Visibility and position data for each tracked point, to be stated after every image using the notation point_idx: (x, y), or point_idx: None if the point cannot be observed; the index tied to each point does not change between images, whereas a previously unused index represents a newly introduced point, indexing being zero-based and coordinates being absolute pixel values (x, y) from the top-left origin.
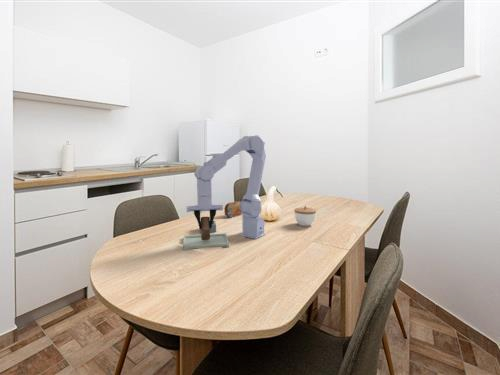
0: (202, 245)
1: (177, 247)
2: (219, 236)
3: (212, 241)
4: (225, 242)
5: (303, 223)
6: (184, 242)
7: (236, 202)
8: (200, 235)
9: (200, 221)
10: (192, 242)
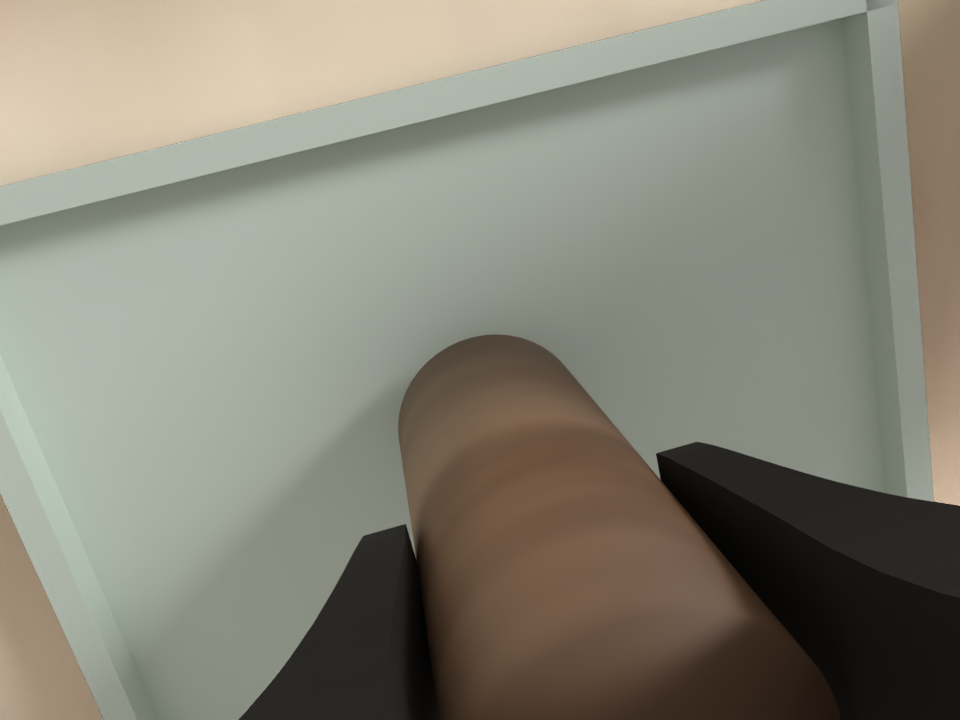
0: None
1: (12, 671)
2: (730, 85)
3: (620, 420)
4: (859, 450)
5: None
6: (104, 653)
7: None
8: (298, 151)
9: (421, 696)
10: (237, 517)
